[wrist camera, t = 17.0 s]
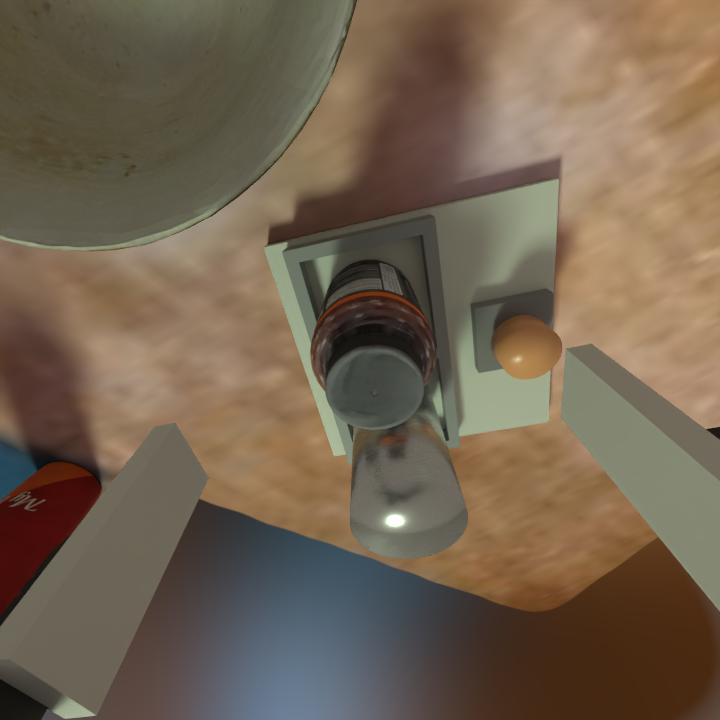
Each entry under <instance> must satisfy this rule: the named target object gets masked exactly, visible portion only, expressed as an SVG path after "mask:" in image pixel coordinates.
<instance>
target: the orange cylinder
mask: <svg viewBox="0 0 720 720" xmlns="http://www.w3.org/2000/svg"><path fill="white" fill-rule="evenodd" d="M491 350H492V353H493V354H494V356H495V357H496V359H497V360H498V362H499V363H500V364H501V366H502V367H503V369H504V370H505V371H506V372H507V373H508V374H509V375H510V376H512V377H514V378H517V379H523V380H527V379H533V378H537V377H540V376H542V375H544V374H545V373H547V372H548V371H550V370H551V369H552V368H553V367H554V366H555V365H556V363H557V362H558V360H559V358H560V356H561V353H562V342H561V339H560V338H559V336H558V335H557V334H556V333H555V332H554V331H553V330H552V329H550V328H549V327H548V326H547V325H546V324H544V323H543V322H542V321H541V320H540V319H538V318H537V317H534V316H531V315H518V316H514V317H511V318H509V319H507V320H506V321H504V322H503V323H502V324H500V325H499V326H498V328H497V329H496V330H495V332H494V334H493V336H492V339H491Z"/></svg>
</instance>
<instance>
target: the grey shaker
mask: <svg viewBox="0 0 720 720" xmlns="http://www.w3.org/2000/svg"><path fill="white" fill-rule="evenodd" d="M467 523H468V512H467V508H466V505H465V502H464V499H463V495H462V492H461V489H460V486H459V482H458V479H457V476H456V472H455V469H454V466H453V463H452V459H451V456H450V453H449V450H448V446H447V443H446V440H445V437H444V433H443V430H442V427H441V424H440V420H439V417H438V414H437V410H436V407H435V404H434V401H433V397H432V394H431V391H430V388H429V385H428V384H426V386H425V392H424V397H423V400H422V402H421V404H420V406H419V408H418V409H417V410H416V412H415V413H414V414H413V415H412V416H411V417H410V418H409V419H408V420H406V421H404V422H403V423H401V424H399V425H396V426H394V427H392V428H387V429H381V430H367V429H361V428H357V427H353V452H352V478H351V504H350V527H351V531H352V533H353V535H354V537H355V538H356V540H357V541H358V542H359V543H360V544H361V545H363V546H364V547H365V548H367V549H368V550H370V551H372V552H374V553H377V554H380V555H383V556H387V557H392V558H400V559H411V558H420V557H425V556H429V555H433V554H436V553H438V552H440V551H443V550H445V549H446V548H448V547H450V546H451V545H452V544H454V543H455V542H456V541H457V540H458V539H459V538H460V537H461V536H462V534H463V533H464V531H465V529H466V526H467Z"/></svg>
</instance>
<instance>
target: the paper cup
mask: <svg viewBox="0 0 720 720" xmlns="http://www.w3.org/2000/svg"><path fill="white" fill-rule="evenodd" d="M100 494H101V485H100V482H99V481H98V479H97V478H96V477H95V476H94V475H93V474H92V473H91V472H90V471H88V470H87V469H85V468H83V467H81V466H79V465H76V464H73V463H69V462H52V463H49V464H47V465H45V466H44V467H42V468H41V469H40V470H38V471H37V472H36V473H34V474H33V475H32V476H31V477H29V478H28V479H27V480H26V481H24V482H23V483H22V484H21V485H19V486H18V487H17V488H16V489H14V490H13V491H12V492H11V493H10V494H8V495H7V496H6V497H5V498H3V499H2V500H1V501H0V616H1V614H2V613H3V612H4V611H5V609H6V608H7V607H8V606H9V604H10V603H11V602H12V600H13V599H14V598H15V597H16V596H19V594H20V590H21V589H22V588H23V587H24V585H25V584H26V583H27V582H28V580H29V579H30V578H33V577H34V573H35V571H36V570H37V569H38V568H39V566H40V565H41V564H42V563H43V561H44V560H45V559H46V558H47V556H48V555H49V554H50V553H51V552H52V551H53V550H54V549H55V548H56V547H57V546H58V545H59V544H60V543H62V542H63V541H64V540H65V539H66V538H67V537H68V536H69V535H70V534H72V533H73V532H74V531H75V529H76V528H77V527H78V526H79V524H80V523H81V522H82V520H83V519H84V518H85V516H86V515H87V514H88V512H89V511H90V509H91V508H92V506H93V505H94V504H95V502H96V501H97V499H98V497H99V496H100Z"/></svg>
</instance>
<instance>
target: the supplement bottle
mask: <svg viewBox="0 0 720 720" xmlns="http://www.w3.org/2000/svg"><path fill="white" fill-rule="evenodd" d="M310 358H311V365H312V370H313V373H314V375H315V377H316V380H317V382H318V383H319V385H320V386H321V387H322V389H323V390H324V391H325V394H326V398H327V401H328V404H329V406H330V408H331V409H332V411H333V412H334V413H335V414H336V415H337V416H338V417H339V418H340V419H341V420H343V421H344V422H346V423H348V424H350V425H352V426H354V427H357V428H361V429H367V430H381V429H387V428H392V427H394V426H396V425H399V424H401V423H403V422H404V421H406V420H408V419H409V418H410V417H411V416H412V415H413V414H414V413H415V412H416V410H417V409H418V408H419V406H420V404H421V402H422V400H423V397H424V392H425V386H426V384H427V383H428V381H429V379H430V378H431V376H432V373H433V371H434V366H435V362H436V347H435V340H434V337H433V333H432V331H431V329H430V326H429V323H428V321H427V319H426V317H425V315H424V313H423V311H422V308H421V306H420V304H419V302H418V299H417V297H416V295H415V293H414V290H413V288H412V286H411V284H410V282H409V281H408V279H407V278H406V277H405V276H404V274H403V273H402V272H401V271H400V270H399V269H397V268H396V267H394V266H392V265H391V264H388V263H386V262H383V261H379V260H371V259H370V260H362V261H358V262H354V263H352V264H350V265H348V266H346V267H345V268H344V269H342V270H341V271H340V272H339V273H337V275H336V276H335V278H334V279H333V280H332V282H331V284H330V286H329V288H328V290H327V293H326V296H325V299H324V302H323V305H322V308H321V311H320V314H319V318H318V321H317V324H316V327H315V330H314V334H313V338H312V342H311V349H310Z"/></svg>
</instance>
